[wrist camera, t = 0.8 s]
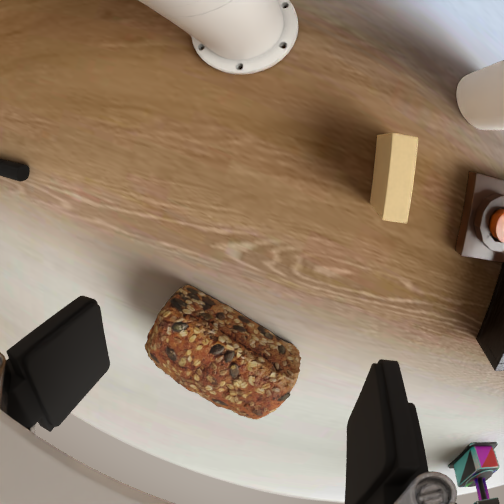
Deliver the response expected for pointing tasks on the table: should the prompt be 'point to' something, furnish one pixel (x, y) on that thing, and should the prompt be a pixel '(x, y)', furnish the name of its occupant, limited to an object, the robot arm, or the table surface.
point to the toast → (393, 176)
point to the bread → (222, 354)
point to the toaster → (494, 327)
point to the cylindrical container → (483, 97)
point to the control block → (480, 218)
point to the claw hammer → (13, 170)
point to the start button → (497, 224)
